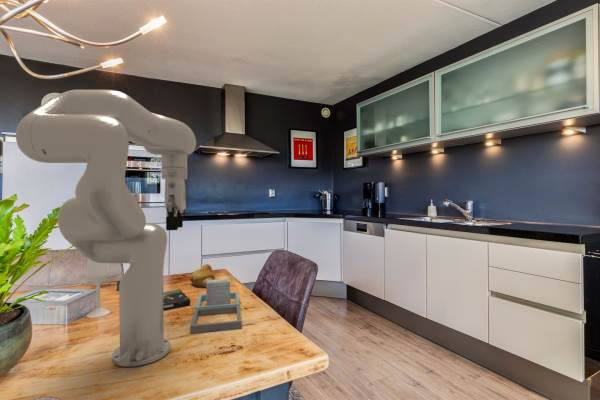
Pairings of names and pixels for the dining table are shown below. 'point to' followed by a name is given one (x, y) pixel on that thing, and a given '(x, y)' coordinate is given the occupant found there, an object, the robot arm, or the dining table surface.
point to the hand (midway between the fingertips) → (174, 228)
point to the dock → (212, 311)
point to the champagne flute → (97, 284)
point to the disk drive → (175, 300)
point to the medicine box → (218, 292)
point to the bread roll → (202, 275)
